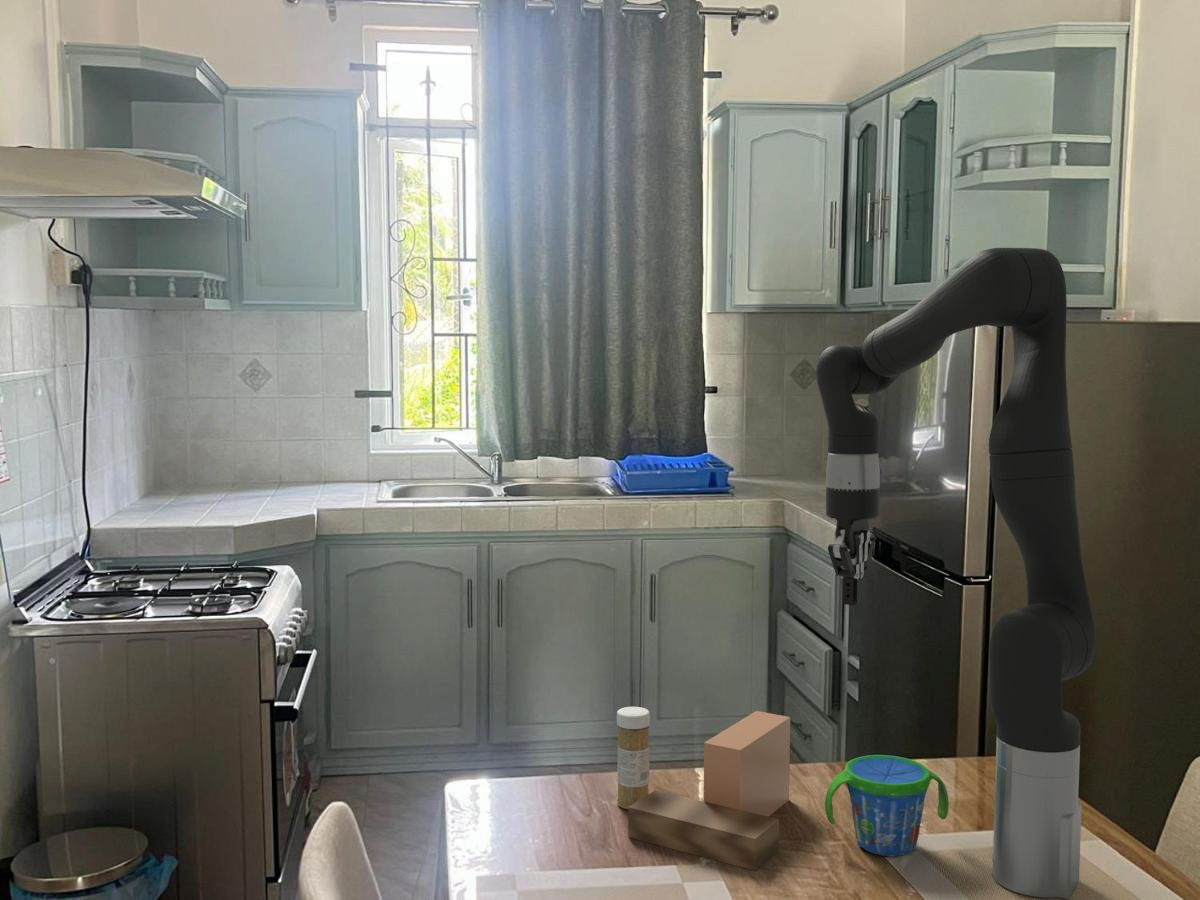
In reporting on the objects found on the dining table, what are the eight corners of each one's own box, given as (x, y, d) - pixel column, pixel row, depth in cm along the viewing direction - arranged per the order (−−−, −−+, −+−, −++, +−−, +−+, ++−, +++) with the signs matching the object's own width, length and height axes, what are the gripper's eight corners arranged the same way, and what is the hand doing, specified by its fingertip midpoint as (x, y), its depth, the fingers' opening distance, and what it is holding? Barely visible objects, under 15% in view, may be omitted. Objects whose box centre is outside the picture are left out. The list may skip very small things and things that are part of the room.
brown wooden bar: (778, 849, 145) (779, 819, 144) (755, 870, 139) (755, 838, 139) (655, 818, 154) (655, 790, 154) (628, 837, 149) (628, 807, 148)
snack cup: (832, 864, 141) (833, 783, 140) (817, 828, 151) (818, 753, 150) (959, 864, 141) (961, 784, 140) (935, 829, 151) (937, 754, 150)
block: (788, 800, 161) (790, 717, 160) (739, 840, 148) (740, 750, 147) (755, 792, 164) (756, 710, 163) (703, 831, 151) (704, 742, 150)
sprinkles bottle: (634, 796, 162) (634, 703, 161) (656, 805, 159) (656, 711, 158) (610, 804, 160) (610, 709, 158) (631, 814, 156) (631, 717, 155)
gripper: (861, 490, 157) (860, 615, 158) (893, 481, 168) (892, 598, 169) (809, 487, 161) (809, 609, 162) (844, 479, 172) (844, 593, 173)
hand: (851, 603), depth 165 cm, fingers closed
